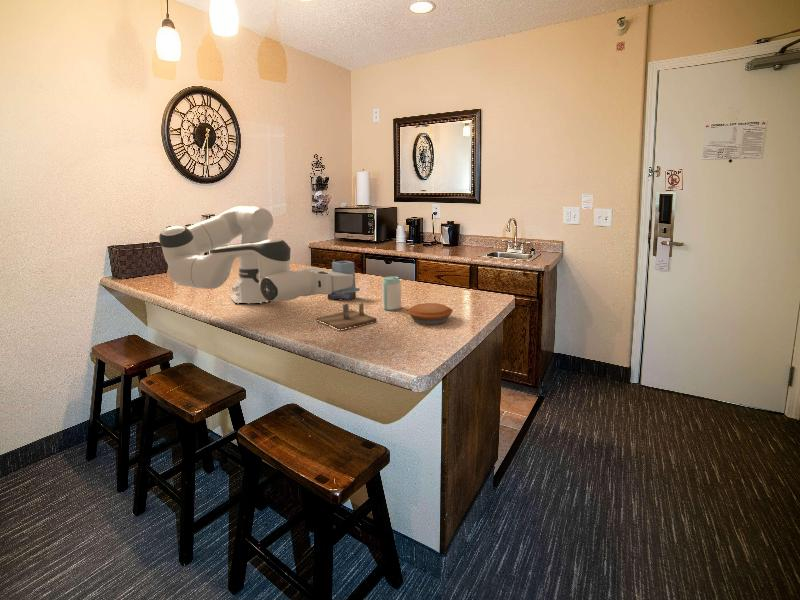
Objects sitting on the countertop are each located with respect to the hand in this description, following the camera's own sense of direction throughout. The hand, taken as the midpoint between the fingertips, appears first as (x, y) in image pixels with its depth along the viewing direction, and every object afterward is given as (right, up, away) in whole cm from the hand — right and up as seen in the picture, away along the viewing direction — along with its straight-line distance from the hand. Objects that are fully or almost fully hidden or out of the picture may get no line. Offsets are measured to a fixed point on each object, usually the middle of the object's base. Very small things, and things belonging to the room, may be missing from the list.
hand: (345, 274), depth 153 cm
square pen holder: (-1, -6, +1) cm, 6 cm away
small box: (-6, -8, +36) cm, 37 cm away
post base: (0, -16, +4) cm, 17 cm away
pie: (+29, -16, +3) cm, 33 cm away
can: (+15, -12, +19) cm, 27 cm away
